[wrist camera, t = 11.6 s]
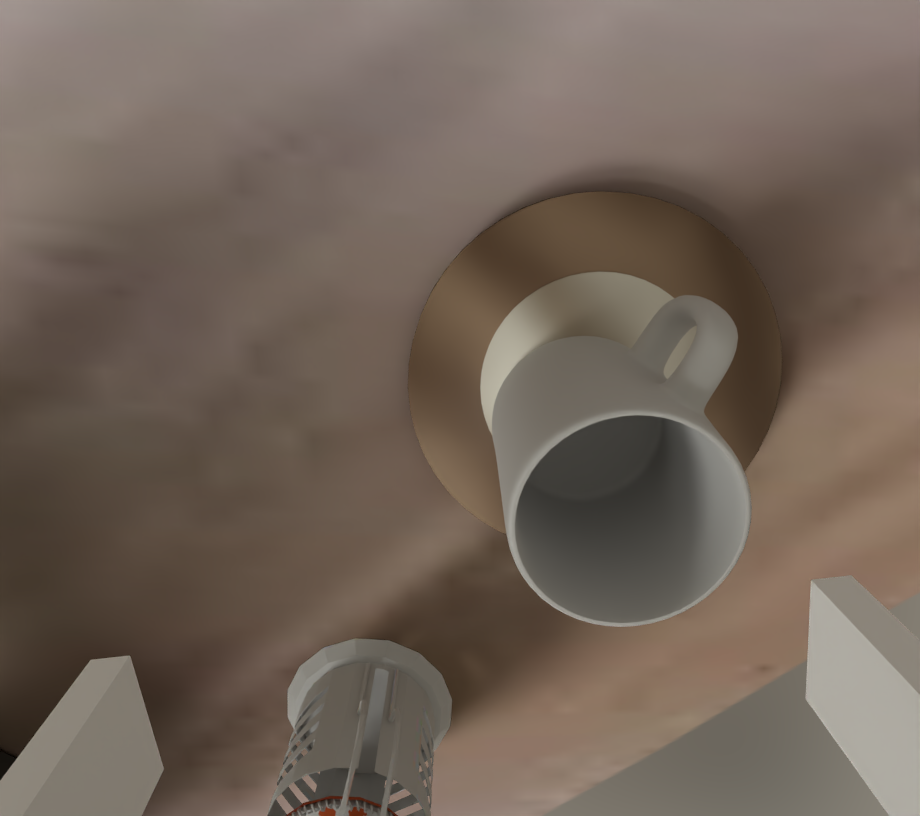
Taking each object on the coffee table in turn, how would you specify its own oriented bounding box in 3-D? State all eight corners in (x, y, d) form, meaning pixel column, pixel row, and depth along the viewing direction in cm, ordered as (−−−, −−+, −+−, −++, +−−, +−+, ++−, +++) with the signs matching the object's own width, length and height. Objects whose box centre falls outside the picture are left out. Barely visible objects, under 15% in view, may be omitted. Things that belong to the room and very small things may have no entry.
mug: (605, 525, 36) (664, 666, 26) (460, 451, 35) (460, 568, 24) (742, 323, 33) (875, 390, 22) (587, 233, 31) (650, 259, 21)
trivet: (549, 598, 39) (555, 628, 36) (335, 350, 34) (325, 363, 32) (837, 408, 35) (867, 426, 33) (640, 105, 31) (656, 98, 28)
